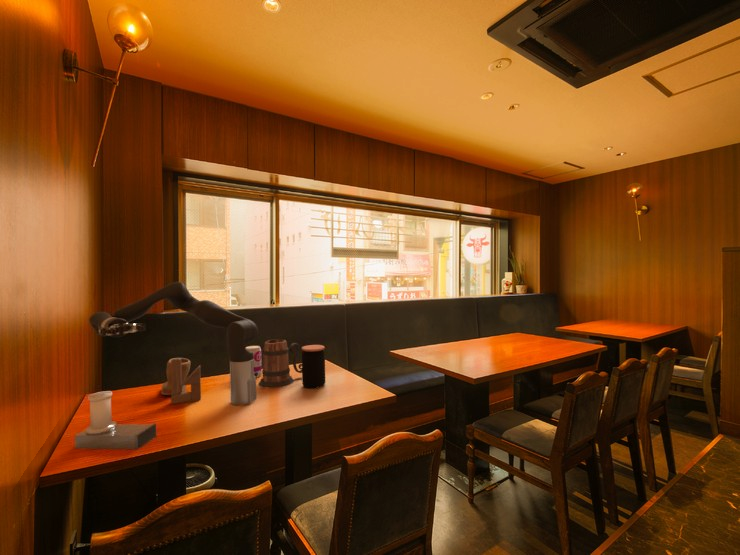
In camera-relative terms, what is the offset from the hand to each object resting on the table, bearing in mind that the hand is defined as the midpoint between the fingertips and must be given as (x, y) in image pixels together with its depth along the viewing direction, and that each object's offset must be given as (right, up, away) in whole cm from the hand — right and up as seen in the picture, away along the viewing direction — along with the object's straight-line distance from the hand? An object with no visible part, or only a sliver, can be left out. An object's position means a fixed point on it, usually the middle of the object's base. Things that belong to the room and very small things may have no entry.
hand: (129, 330), depth 132 cm
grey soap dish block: (+11, -32, -21) cm, 40 cm away
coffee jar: (+64, -31, +33) cm, 78 cm away
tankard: (+48, -31, +41) cm, 70 cm away
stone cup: (+3, -32, +27) cm, 42 cm away
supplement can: (+30, -31, +50) cm, 66 cm away
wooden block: (+14, -32, +15) cm, 38 cm away
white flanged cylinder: (+6, -27, -21) cm, 35 cm away
